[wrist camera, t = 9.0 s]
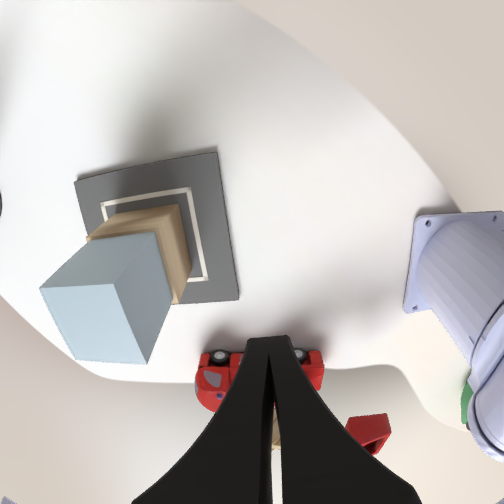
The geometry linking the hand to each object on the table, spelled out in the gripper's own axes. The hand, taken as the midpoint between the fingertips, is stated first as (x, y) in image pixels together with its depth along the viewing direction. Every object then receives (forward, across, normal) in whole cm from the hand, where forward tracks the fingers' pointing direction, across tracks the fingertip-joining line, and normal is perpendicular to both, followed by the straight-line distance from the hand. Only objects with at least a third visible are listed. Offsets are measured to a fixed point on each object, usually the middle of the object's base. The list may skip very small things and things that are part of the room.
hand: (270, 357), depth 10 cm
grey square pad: (+10, +7, -1) cm, 13 cm away
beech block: (+10, +7, -1) cm, 12 cm away
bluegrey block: (+6, +7, -1) cm, 9 cm away
